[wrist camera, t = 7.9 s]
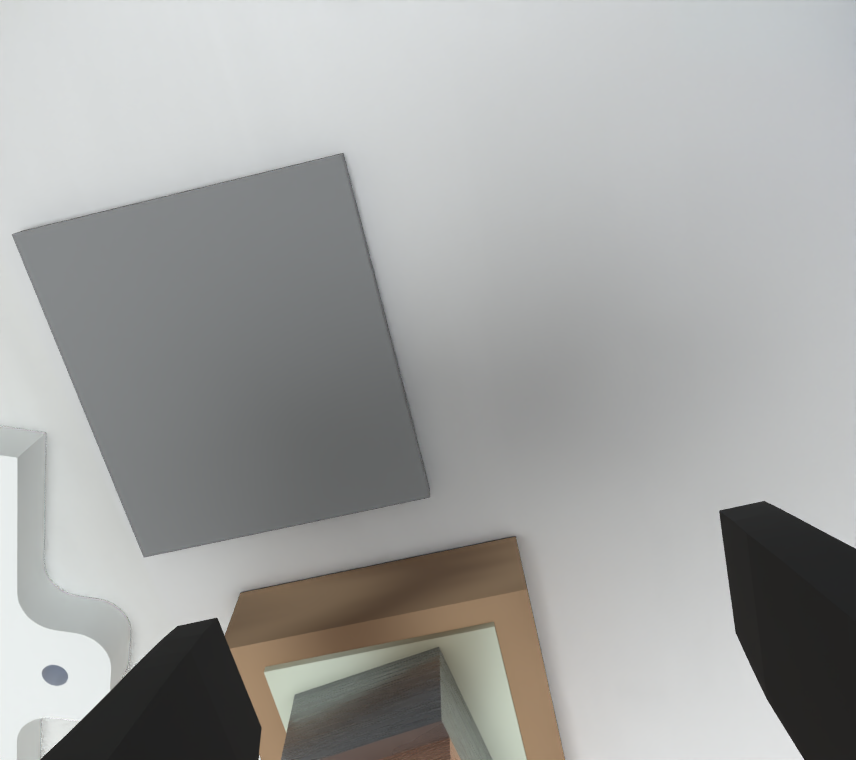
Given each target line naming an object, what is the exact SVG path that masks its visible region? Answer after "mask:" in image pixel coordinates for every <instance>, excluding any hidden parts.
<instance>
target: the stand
mask: <svg viewBox="0 0 856 760" xmlns="http://www.w3.org/2000/svg"><path fill="white" fill-rule="evenodd" d="M225 638H226V641H227V643H228V646H229V648H230V651H231V653H232V655H233V658H234V660H235V663H236V665H237V668H238V670H239V673H240V675H241V678H242V680H243V683H244V685H245V688H246V690H247V693H248V695H249V697H250V700H251V702H252V705H253V707H254V710H255V712H256V715H257V717H258V720H259V722H260V725H261V727H262V730H261V739H260V749H259V755H260V757H261V760H281V757H282V752H283V747H284V743H285V738H286V733H287V728H288V724H289V719H290V714H291V710H292V705H293V700H294V696H295V694H298V693H301V692H304V691H307V690H310V689H313V688H316V687H319V686H322V685H325V684H328V683H331V682H334V681H337V680H340V679H343V678H346V677H349V676H352V675H355V674H358V673H361V672H364V671H367V670H370V669H373V668H376V667H379V666H382V665H385V664H388V663H391V662H394V661H397V660H400V659H403V658H406V657H409V656H412V655H415V654H418V653H421V652H424V651H427V650H430V649H433V648H436V647H440V650H441V652H442V654H443V656H444V658H445V660H446V662H447V664H448V666H449V669H450V671H451V673H452V675H453V677H454V679H455V681H456V683H457V685H458V688H459V690H460V692H461V694H462V696H463V698H464V700H465V702H466V704H467V707H468V709H469V711H470V713H471V715H472V717H473V719H474V721H475V723H476V726H477V728H478V730H479V732H480V734H481V736H482V738H483V740H484V742H485V745H486V747H487V749H488V751H489V753H490V755H491V757H492V759H493V760H565V758H564V753H563V749H562V744H561V740H560V735H559V731H558V726H557V722H556V717H555V713H554V708H553V704H552V699H551V694H550V690H549V685H548V681H547V676H546V672H545V667H544V663H543V658H542V654H541V649H540V645H539V640H538V636H537V631H536V627H535V622H534V617H533V613H532V608H531V604H530V599H529V595H528V590H527V586H526V581H525V577H524V572H523V568H522V563H521V559H520V554H519V550H518V545H517V540H516V537H511V538H506V539H501V540H496V541H491V542H486V543H481V544H477V545H472V546H467V547H462V548H457V549H452V550H447V551H442V552H438V553H433V554H428V555H423V556H418V557H413V558H408V559H403V560H398V561H394V562H389V563H384V564H379V565H374V566H369V567H364V568H359V569H355V570H350V571H345V572H340V573H335V574H330V575H325V576H320V577H316V578H311V579H306V580H301V581H296V582H291V583H286V584H281V585H277V586H272V587H267V588H262V589H257V590H252V591H247V592H242V593H240V595H239V598H238V601H237V604H236V606H235V609H234V612H233V614H232V617H231V620H230V623H229V625H228V628H227V631H226V633H225Z"/></svg>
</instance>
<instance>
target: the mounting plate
mask: <svg viewBox="0 0 856 760" xmlns="http://www.w3.org/2000/svg"><path fill="white" fill-rule="evenodd" d="M45 475H46V432H39V431H33V430H26V429H20V428H14V427H7V426H1V425H0V760H40V759H41V718H55V719H63V720H70V721H81V720H82V719H83V718H84V717H85V716H86V715H87V714H88V713H89V712H90V711H91V710H92V709H93V708H94V707H95V706H96V705H97V704H98V703H99V702H100V701H101V700H102V699H103V698H104V697H105V696H106V695H107V694H108V693H109V692H110V691H111V690H112V689H113V688H114V687H115V686H116V685H117V684H118V683H119V682H120V681H121V679H122V677H123V675H124V673H125V671H126V669H127V667H128V663H129V657H130V641H131V627H130V623H129V620H128V618H127V616H126V615H125V614H124V612H123V611H122V610H121V609H119V608H118V607H117V606H116V605H114V604H112V603H110V602H108V601H105V600H102V599H98V598H91V597H84V596H78V595H74V594H70V593H68V592H66V591H64V590H62V589H60V588H59V587H58V586H57V585H55V584H54V583H53V582H52V580H51V579H50V578H49V576H48V574H47V572H46V570H45V564H44V535H45Z"/></svg>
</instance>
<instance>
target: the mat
mask: <svg viewBox="0 0 856 760" xmlns="http://www.w3.org/2000/svg"><path fill="white" fill-rule="evenodd" d="M12 236H13V239H14V241H15V243H16V246H17V248H18V251H19V253H20V256H21V258H22V261H23V263H24V266H25V268H26V270H27V273H28V275H29V278H30V280H31V283H32V285H33V288H34V290H35V292H36V295H37V297H38V300H39V302H40V305H41V307H42V310H43V312H44V314H45V317H46V319H47V322H48V324H49V327H50V329H51V332H52V334H53V336H54V339H55V341H56V344H57V346H58V349H59V351H60V354H61V356H62V358H63V361H64V363H65V366H66V368H67V371H68V373H69V376H70V378H71V380H72V383H73V385H74V388H75V390H76V393H77V395H78V398H79V400H80V402H81V405H82V407H83V410H84V412H85V415H86V417H87V420H88V422H89V424H90V427H91V429H92V432H93V434H94V437H95V439H96V442H97V444H98V446H99V449H100V451H101V454H102V456H103V459H104V461H105V464H106V466H107V468H108V471H109V473H110V476H111V478H112V481H113V483H114V486H115V488H116V490H117V493H118V495H119V498H120V500H121V503H122V505H123V508H124V510H125V512H126V515H127V517H128V520H129V522H130V525H131V527H132V530H133V532H134V534H135V537H136V539H137V542H138V544H139V547H140V549H141V552H142V554H143V556H144V557H148V556H153V555H158V554H163V553H167V552H172V551H177V550H182V549H186V548H191V547H196V546H201V545H205V544H210V543H215V542H220V541H225V540H229V539H234V538H239V537H244V536H248V535H253V534H258V533H263V532H267V531H272V530H277V529H282V528H286V527H291V526H296V525H301V524H305V523H310V522H315V521H320V520H325V519H329V518H334V517H339V516H344V515H348V514H353V513H358V512H363V511H367V510H372V509H377V508H382V507H386V506H391V505H396V504H401V503H405V502H410V501H415V500H420V499H425V498H429V497H430V488H429V485H428V481H427V477H426V473H425V469H424V465H423V461H422V457H421V453H420V450H419V446H418V442H417V438H416V434H415V430H414V426H413V422H412V418H411V415H410V411H409V407H408V403H407V399H406V395H405V391H404V387H403V383H402V380H401V376H400V372H399V368H398V364H397V360H396V356H395V352H394V349H393V345H392V341H391V337H390V333H389V329H388V325H387V321H386V317H385V314H384V310H383V306H382V302H381V298H380V294H379V290H378V286H377V282H376V279H375V275H374V271H373V267H372V263H371V259H370V255H369V251H368V247H367V244H366V240H365V236H364V232H363V228H362V224H361V220H360V216H359V212H358V209H357V205H356V201H355V197H354V193H353V189H352V185H351V181H350V177H349V174H348V170H347V166H346V162H345V158H344V154H343V153H342V154H338V155H334V156H330V157H325V158H321V159H317V160H313V161H309V162H305V163H301V164H297V165H292V166H288V167H284V168H280V169H276V170H272V171H268V172H264V173H259V174H255V175H251V176H247V177H243V178H239V179H235V180H231V181H226V182H222V183H218V184H214V185H210V186H206V187H202V188H198V189H193V190H189V191H185V192H181V193H177V194H173V195H169V196H165V197H161V198H156V199H152V200H148V201H144V202H140V203H136V204H132V205H128V206H123V207H119V208H115V209H111V210H107V211H103V212H99V213H95V214H90V215H86V216H82V217H78V218H74V219H70V220H66V221H62V222H57V223H53V224H49V225H45V226H41V227H37V228H33V229H29V230H24V231H21V232H18V233H14V234H12Z"/></svg>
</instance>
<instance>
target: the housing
mask: <svg viewBox="0 0 856 760" xmlns="http://www.w3.org/2000/svg"><path fill="white" fill-rule="evenodd" d="M281 760H493V759H492V757H491V755H490V753H489V751H488V749H487V747H486V745H485V742H484V740H483V738H482V736H481V734H480V732H479V730H478V728H477V726H476V723H475V721H474V719H473V717H472V715H471V713H470V711H469V709H468V707H467V704H466V702H465V700H464V698H463V696H462V694H461V692H460V690H459V688H458V685H457V683H456V681H455V679H454V677H453V675H452V673H451V671H450V669H449V666H448V664H447V662H446V660H445V658H444V656H443V654H442V652H441V650H440V647H436V648H433V649H430V650H427V651H424V652H421V653H418V654H415V655H412V656H409V657H406V658H403V659H400V660H397V661H394V662H391V663H388V664H385V665H382V666H379V667H376V668H373V669H370V670H367V671H364V672H361V673H358V674H355V675H352V676H349V677H346V678H343V679H340V680H337V681H334V682H331V683H328V684H325V685H322V686H319V687H316V688H313V689H310V690H307V691H304V692H301V693H298V694H295V696H294V700H293V705H292V710H291V714H290V719H289V724H288V728H287V733H286V738H285V743H284V747H283V752H282V757H281Z"/></svg>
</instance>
